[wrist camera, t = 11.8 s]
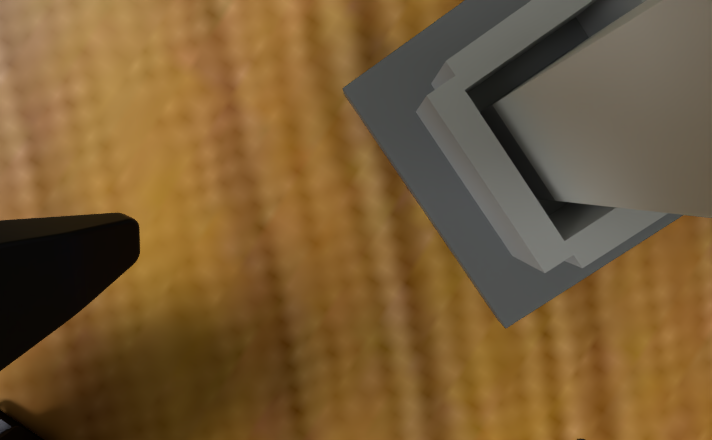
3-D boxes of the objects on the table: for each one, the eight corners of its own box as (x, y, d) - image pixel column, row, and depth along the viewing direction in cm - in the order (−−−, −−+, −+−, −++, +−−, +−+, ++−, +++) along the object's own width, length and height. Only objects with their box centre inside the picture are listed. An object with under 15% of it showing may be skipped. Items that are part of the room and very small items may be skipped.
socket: (497, 319, 20) (536, 361, 16) (343, 94, 19) (335, 66, 15) (738, 164, 19) (857, 160, 14) (586, -80, 18) (660, -169, 14)
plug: (534, 198, 18) (881, 236, 6) (478, 112, 18) (717, -34, 6) (624, 139, 18) (1192, 48, 6) (568, 51, 18) (1031, -251, 5)
